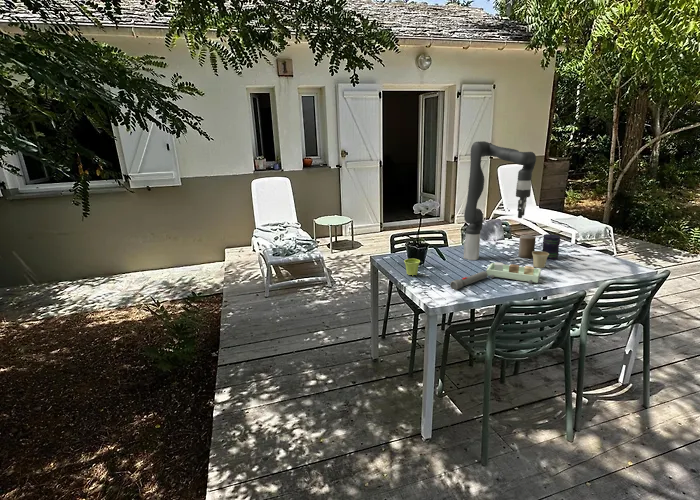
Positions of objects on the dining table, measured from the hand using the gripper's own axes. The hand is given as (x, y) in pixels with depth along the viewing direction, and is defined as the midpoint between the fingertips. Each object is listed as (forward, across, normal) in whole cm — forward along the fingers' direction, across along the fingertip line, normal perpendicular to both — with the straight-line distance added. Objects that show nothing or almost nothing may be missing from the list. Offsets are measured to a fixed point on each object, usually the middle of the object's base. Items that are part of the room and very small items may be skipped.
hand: (521, 216), depth 221 cm
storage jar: (+33, -37, +15) cm, 52 cm away
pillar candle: (+33, -34, +1) cm, 48 cm away
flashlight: (+34, +32, -19) cm, 50 cm away
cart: (+33, +11, 0) cm, 35 cm away
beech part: (+31, +11, +8) cm, 34 cm away
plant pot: (+33, +33, -53) cm, 71 cm away
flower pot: (+33, -15, +11) cm, 38 cm away
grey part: (+31, +11, -8) cm, 34 cm away
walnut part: (+31, +11, 0) cm, 33 cm away
